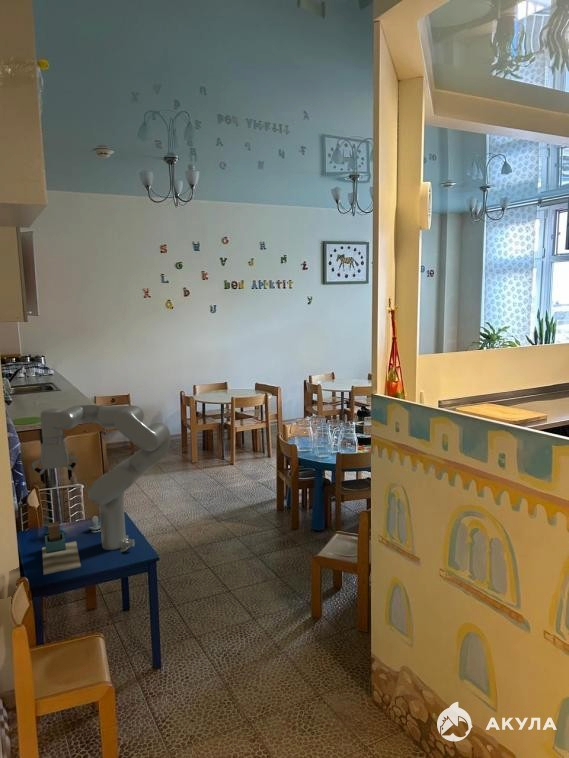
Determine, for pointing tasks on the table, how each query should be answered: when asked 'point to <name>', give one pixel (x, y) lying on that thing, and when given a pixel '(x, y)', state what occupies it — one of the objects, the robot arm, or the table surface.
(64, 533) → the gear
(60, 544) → the cup bracket
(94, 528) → the pacifier
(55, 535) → the rail end
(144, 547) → the table surface
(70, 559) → the base board
